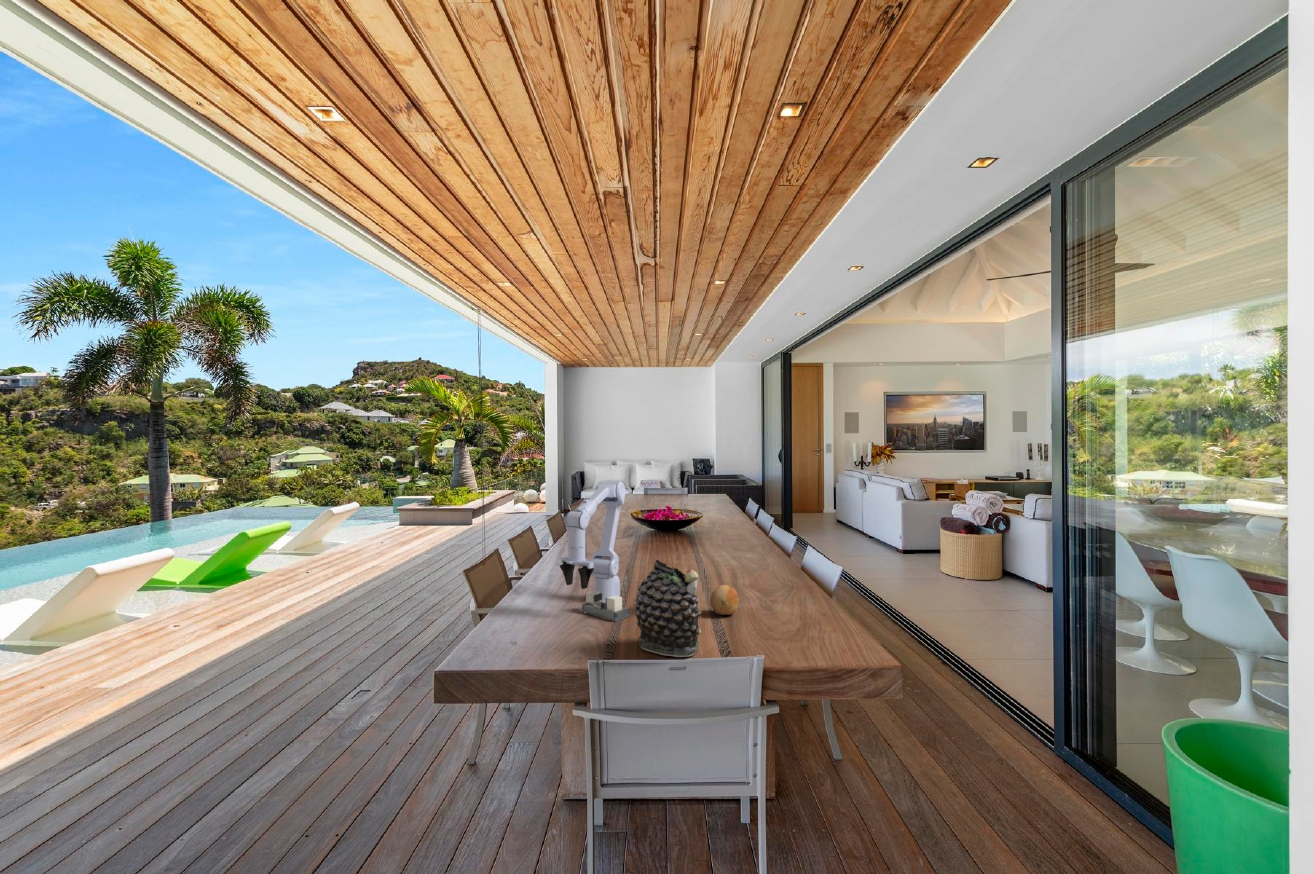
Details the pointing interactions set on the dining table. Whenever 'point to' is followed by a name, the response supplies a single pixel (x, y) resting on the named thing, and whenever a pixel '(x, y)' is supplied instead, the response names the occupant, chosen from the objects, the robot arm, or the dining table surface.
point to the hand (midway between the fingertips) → (576, 586)
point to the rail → (602, 607)
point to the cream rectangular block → (614, 603)
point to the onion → (724, 600)
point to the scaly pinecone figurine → (668, 611)
